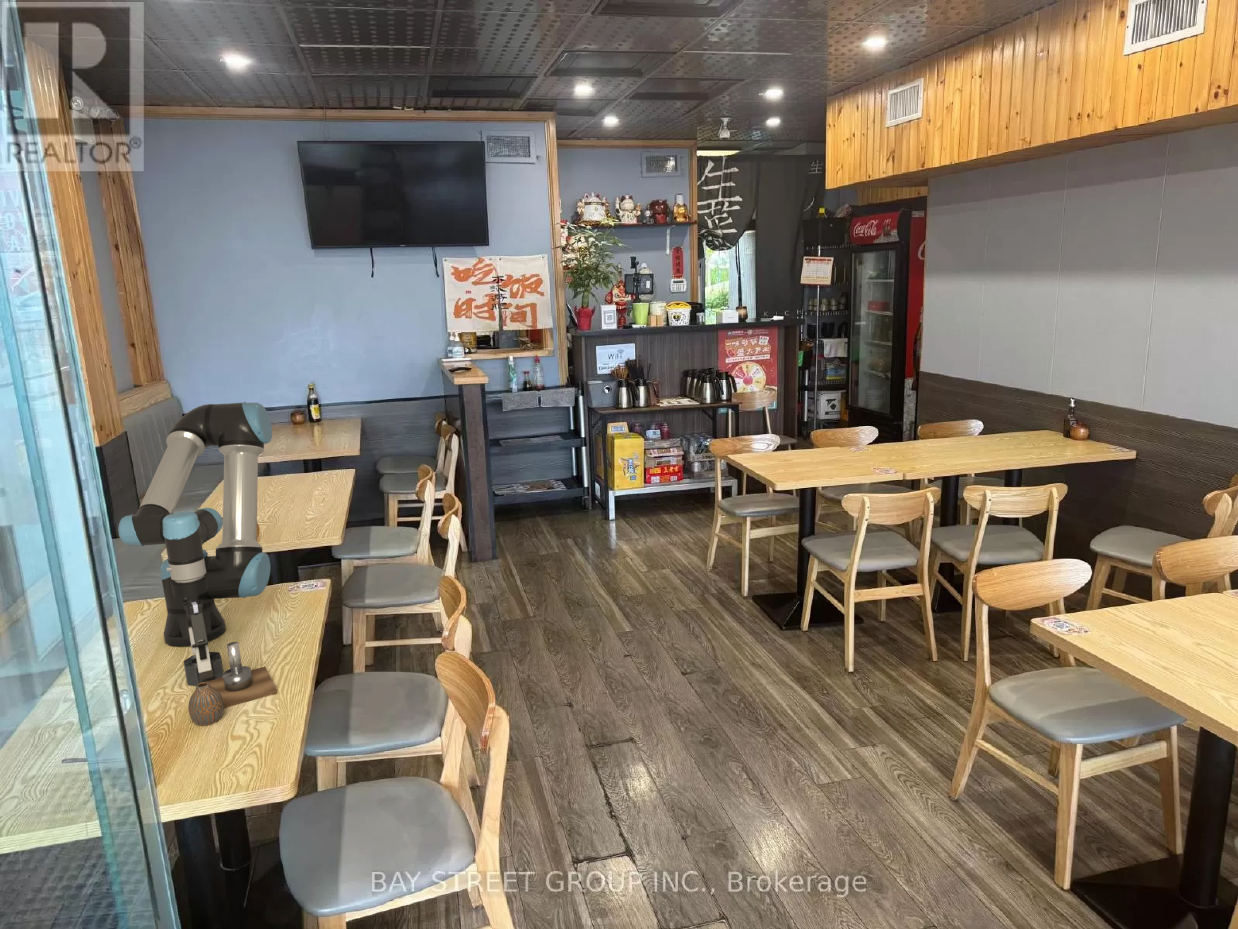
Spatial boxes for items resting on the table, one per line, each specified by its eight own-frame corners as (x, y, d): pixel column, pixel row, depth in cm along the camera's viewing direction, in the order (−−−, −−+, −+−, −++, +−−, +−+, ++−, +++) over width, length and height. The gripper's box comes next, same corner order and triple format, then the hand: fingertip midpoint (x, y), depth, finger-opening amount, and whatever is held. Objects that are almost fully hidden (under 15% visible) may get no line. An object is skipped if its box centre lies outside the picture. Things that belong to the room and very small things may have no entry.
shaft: (223, 684, 197) (216, 643, 195) (250, 677, 200) (244, 636, 198) (227, 694, 192) (220, 652, 190) (254, 686, 195) (248, 645, 193)
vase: (216, 709, 188) (211, 674, 186) (231, 719, 183) (225, 682, 181) (185, 722, 183) (179, 686, 181) (200, 732, 178) (193, 695, 176)
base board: (203, 687, 199) (202, 682, 198) (265, 670, 206) (265, 666, 205) (211, 711, 187) (210, 706, 187) (276, 693, 194) (276, 688, 194)
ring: (185, 676, 204) (182, 657, 203) (221, 667, 209) (218, 649, 207) (189, 689, 198) (185, 670, 197) (225, 679, 202) (222, 660, 201)
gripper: (166, 567, 206) (179, 647, 210) (176, 595, 185) (189, 684, 189) (200, 561, 210) (212, 640, 214) (213, 588, 189) (225, 675, 193)
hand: (201, 661), depth 202 cm, fingers open, 13 cm apart
